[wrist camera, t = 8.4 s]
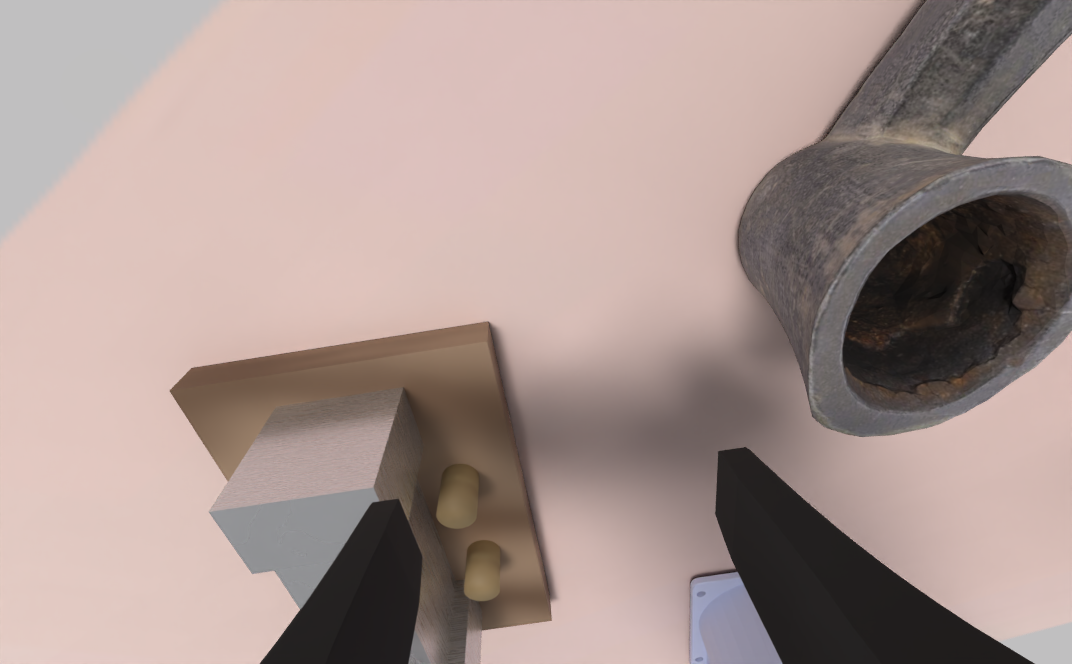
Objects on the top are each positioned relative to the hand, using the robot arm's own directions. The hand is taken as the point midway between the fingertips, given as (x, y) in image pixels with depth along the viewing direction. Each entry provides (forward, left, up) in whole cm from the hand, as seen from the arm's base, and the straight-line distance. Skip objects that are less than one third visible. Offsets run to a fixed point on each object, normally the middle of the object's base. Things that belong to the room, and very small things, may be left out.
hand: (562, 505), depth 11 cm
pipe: (+4, -11, -10) cm, 15 cm away
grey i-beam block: (-9, +8, -8) cm, 14 cm away
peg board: (-9, +8, -9) cm, 15 cm away
